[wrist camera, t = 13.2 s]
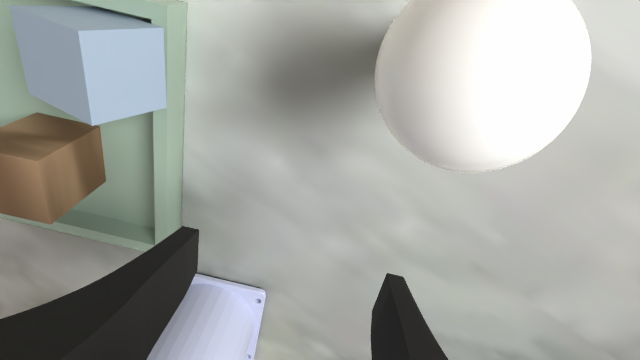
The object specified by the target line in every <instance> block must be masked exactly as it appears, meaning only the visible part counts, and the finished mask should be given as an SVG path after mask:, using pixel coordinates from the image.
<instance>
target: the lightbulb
mask: <svg viewBox="0 0 640 360" xmlns="http://www.w3.org/2000/svg"><path fill="white" fill-rule="evenodd" d="M590 71H591V46H590V40H589V35H588V32H587V28H586V25H585V23H584V20H583V18H582V16H581V14H580V12H579V11H578V9H577V7H576V6H575V5H574V3H573V2H572V1H571V0H410V1H409V2H408V3H407V4H406V5H405V6H404V7H403V8H402V10H401V11H400V12H399V13H398V15H397V16H396V17H395V19H394V20H393V22H392V23H391V25H390V27H389V28H388V30H387V32H386V34H385V36H384V39H383V41H382V44H381V46H380V49H379V53H378V57H377V61H376V68H375V93H376V99H377V103H378V107H379V110H380V113H381V115H382V118H383V120H384V122H385V124H386V126H387V127H388V129H389V131H390V132H391V134H392V135H393V136H394V137H395V139H396V140H397V141H398V142H399V143H400V144H401V145H402V146H403V147H404V148H405V149H406V150H407V151H409V152H410V153H411V154H413V155H414V156H415V157H417V158H419V159H420V160H422V161H424V162H426V163H428V164H430V165H433V166H435V167H438V168H441V169H445V170H449V171H455V172H464V173H479V172H488V171H494V170H498V169H502V168H506V167H509V166H512V165H514V164H517V163H519V162H521V161H523V160H525V159H527V158H529V157H531V156H533V155H534V154H536V153H537V152H539V151H540V150H542V149H543V148H544V147H546V146H547V145H548V144H549V143H551V142H552V141H553V140H554V139H555V138H556V137H557V136H558V135H559V134H560V133H561V132H562V131H563V130H564V128H565V127H566V126H567V125H568V123H569V122H570V121H571V119H572V118H573V116H574V115H575V113H576V111H577V109H578V108H579V106H580V104H581V102H582V99H583V97H584V94H585V92H586V89H587V85H588V81H589V77H590Z"/></svg>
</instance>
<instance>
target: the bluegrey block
mask: <svg viewBox="0 0 640 360" xmlns="http://www.w3.org/2000/svg"><path fill="white" fill-rule="evenodd" d="M9 8H10V13H11V17H12V22H13V26H14V30H15V35H16V39H17V44H18V48H19V52H20V57H21V61H22V65H23V70H24V74H25V79H26V83H27V87H28V92H29V94H31V95H33V96H35V97H37V98H39V99H41V100H43V101H45V102H46V103H48V104H50V105H52V106H54V107H56V108H58V109H60V110H62V111H64V112H66V113H68V114H70V115H72V116H74V117H76V118H78V119H80V120H82V121H84V122H85V123H87V124H89V125H91V126H94V125H98V124H102V123H106V122H110V121H114V120H118V119H122V118H127V117H131V116H135V115H139V114H143V113H147V112H151V111H155V110H159V109H163V108H167V104H166V80H165V56H164V31H163V27H160V26H156V25H153V24H150V23H147V22H144V21H141V20H138V19H135V18H131V17H128V16H125V15H122V14H119V13H116V12H113V11H110V10H106V9H103V8H100V7H93V6H22V5H9Z"/></svg>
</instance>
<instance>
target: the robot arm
mask: <svg viewBox="0 0 640 360" xmlns="http://www.w3.org/2000/svg"><path fill="white" fill-rule="evenodd" d="M198 242H199V230H198V229H193V228H189V227H185V226H183V227H181V228H179V229H178V230H177V231H175V232H174V233H172V234H171V235H169V236H168V237H167V238H165V239H164V240H162V241H161V242H159V243H158V244H157V245H155V246H154V247H152V248H151V249H149V250H148V251H146V252H145V253H143V254H142V255H140V256H138V257H137V258H135V259H134V260H132V261H131V262H129V263H127V264H126V265H124V266H122V267H120V268H119V269H117V270H115V271H114V272H112V273H110V274H108V275H107V276H105V277H103V278H101V279H99V280H97V281H95V282H93V283H91V284H89V285H87V286H85V287H83V288H81V289H79V290H77V291H74V292H72V293H70V294H67V295H65V296H63V297H60V298H58V299H56V300H53V301H51V302H48V303H46V304H43V305H40V306H38V307H35V308H32V309H30V310H27V311H24V312H21V313H18V314H15V315H12V316H9V317H6V318H3V319H0V360H254V356H255V350H256V345H257V340H258V335H259V329H260V324H261V319H262V314H263V309H264V303H265V298H266V292H265V291H264V290H263V289H260V288H255V287H251V286H247V285H243V284H239V283H234V282H230V281H226V280H222V279H217V278H213V277H209V276H205V275H200V274H196V272H197V264H198ZM259 299H260V300H259ZM371 351H372V360H448V358H447V357H446V355H445V354H444V352H443V351H442V349H441V348H440V346H439V344H438V343H437V341H436V339H435V338H434V336H433V334H432V333H431V331H430V329H429V327H428V325H427V324H426V322H425V320H424V318H423V316H422V314H421V312H420V310H419V308H418V306H417V304H416V302H415V300H414V298H413V296H412V294H411V292H410V290H409V288H408V286H407V284H406V281H405V279H404V278H403V277H402V276H397V275H393V274H389V273H387V274H386V277H385V279H384V282H383V285H382V287H381V290H380V292H379V295H378V297H377V300H376V302H375V305H374V307H373V310H372V323H371Z"/></svg>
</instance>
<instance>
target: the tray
mask: <svg viewBox="0 0 640 360" xmlns="http://www.w3.org/2000/svg"><path fill="white" fill-rule="evenodd" d="M9 5H22V6H93V7H100V8H103V9H106V10H110V11H113V12H116V13H119V14H122V15H125V16H128V17H131V18H135V19H138V20H141V21H144V22H147V23H150V24H153V25H156V26H160V27H163V31H164V56H165V80H166V104H167V108H163V109H159V110H155V111H151V112H147V113H143V114H139V115H135V116H131V117H127V118H122V119H118V120H114V121H110V122H106V123H102V124H98V125H97V126H100V131H101V140H102V149H103V158H104V166H105V175H106V182H105V183H103V184H102V185H101V186H99V187H98V188H97V189H96V190H94V191H93V192H92V193H91V194H89V195H88V196H87V197H85V198H84V199H83V200H82V201H80V202H79V203H78V204H77V205H75V206H74V207H73V208H71V209H70V210H69V211H68V212H66V213H65V214H64V215H63V216H61V217H60V218H59V219H57V220H56V221H55V222H54V223H52V224H51V225H50V224H46V223H41V222H37V221H32V220H28V219H23V218H19V217H14V216H10V215H5V214H1V213H0V218H4V219H8V220H12V221H17V222H21V223H25V224H29V225H33V226H38V227H42V228H46V229H50V230H55V231H59V232H63V233H67V234H71V235H76V236H80V237H84V238H88V239H93V240H97V241H101V242H105V243H110V244H114V245H118V246H122V247H126V248H131V249H135V250H139V251H143V252H146V251H148V250H149V249H151V248H152V247H154V246H155V245H157V244H158V243H159V242H161V241H162V240H164V239H165V238H167V237H168V236H169V235H171V234H172V233H174V232H175V231H177V230H178V229H179V228H181V213H182V175H183V138H184V100H185V62H186V24H187V2H183V1H178V0H0V127H2V126H5V125H7V124H10V123H12V122H15V121H17V120H19V119H22V118H24V117H27V116H29V115H32V114H34V113H36V112H38V113H42V114H47V115H51V116H56V117H60V118H65V119H69V120H74V121H79V122H83V123H85V122H84V121H82V120H80V119H78V118H76V117H74V116H72V115H70V114H68V113H66V112H64V111H62V110H60V109H58V108H56V107H54V106H52V105H50V104H48V103H46V102H45V101H43V100H41V99H39V98H37V97H35V96H33V95H31V94H29V92H28V87H27V83H26V79H25V74H24V70H23V65H22V61H21V57H20V52H19V48H18V44H17V39H16V35H15V30H14V26H13V22H12V17H11V13H10V8H9Z"/></svg>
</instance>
